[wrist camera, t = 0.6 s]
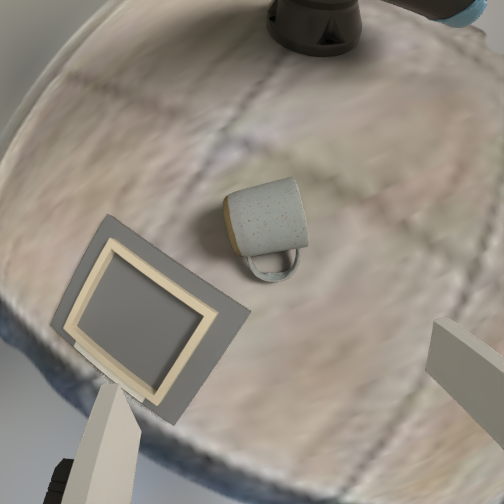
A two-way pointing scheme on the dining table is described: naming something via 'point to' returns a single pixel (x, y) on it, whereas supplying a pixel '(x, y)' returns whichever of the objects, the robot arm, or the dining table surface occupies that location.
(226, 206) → the ceramic mug
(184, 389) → the charcoal pocket board
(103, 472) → the robot arm
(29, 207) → the dining table surface
